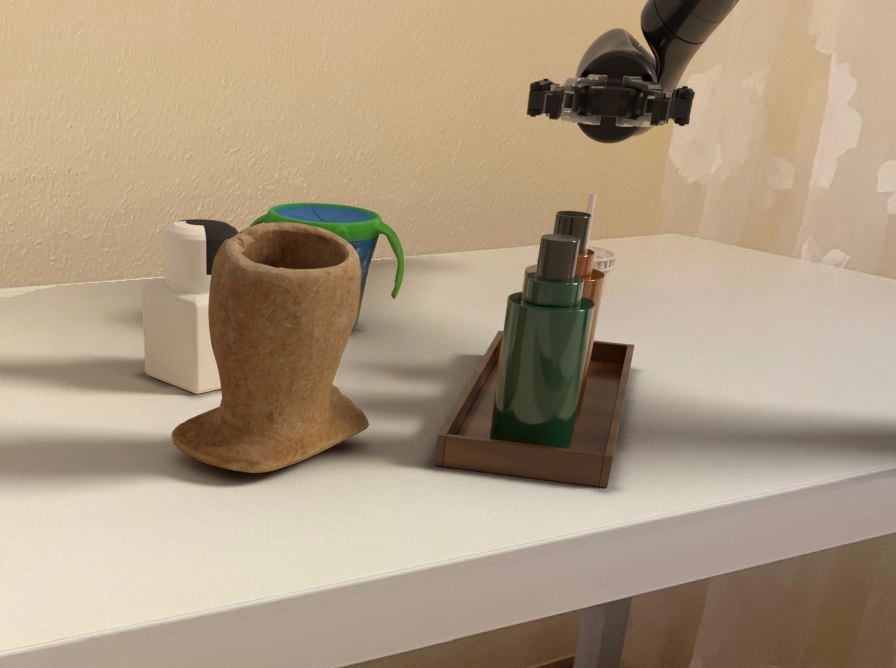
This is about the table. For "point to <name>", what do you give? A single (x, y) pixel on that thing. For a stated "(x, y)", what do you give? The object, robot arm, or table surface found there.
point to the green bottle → (543, 350)
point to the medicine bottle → (184, 307)
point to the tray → (582, 464)
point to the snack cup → (343, 231)
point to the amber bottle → (581, 273)
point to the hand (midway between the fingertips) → (605, 108)
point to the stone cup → (278, 349)
